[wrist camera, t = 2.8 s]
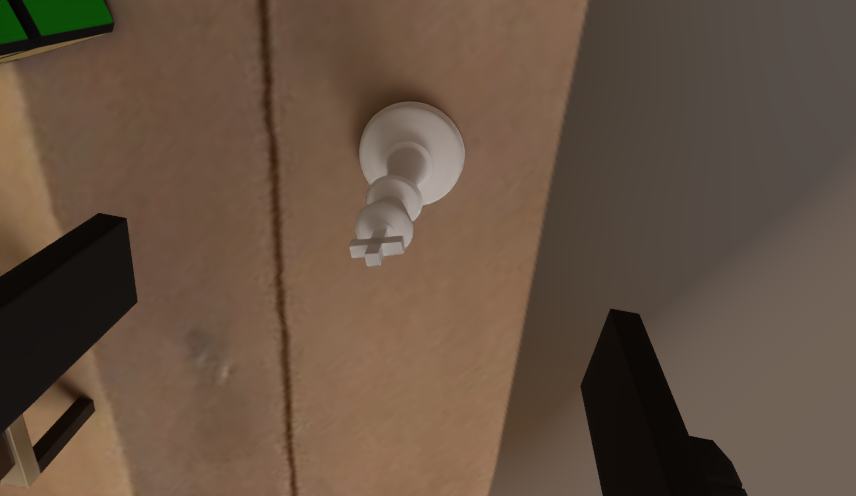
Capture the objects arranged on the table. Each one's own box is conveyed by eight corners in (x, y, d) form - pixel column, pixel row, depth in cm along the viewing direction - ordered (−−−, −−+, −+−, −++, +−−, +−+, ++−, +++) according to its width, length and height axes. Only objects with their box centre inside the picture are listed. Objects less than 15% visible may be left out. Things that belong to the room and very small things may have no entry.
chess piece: (350, 108, 25) (274, 193, 16) (458, 94, 24) (441, 176, 15) (371, 206, 27) (315, 329, 18) (470, 197, 26) (461, 320, 17)
